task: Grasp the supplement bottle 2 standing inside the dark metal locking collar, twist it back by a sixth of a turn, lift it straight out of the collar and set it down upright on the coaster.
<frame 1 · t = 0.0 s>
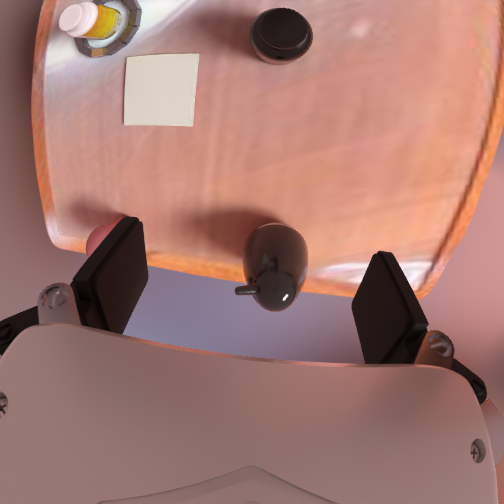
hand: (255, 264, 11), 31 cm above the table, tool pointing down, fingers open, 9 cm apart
collar: (108, 24, 26), on the table
supplement bottle 2: (109, 24, 27), resting in collar
coaster: (159, 89, 33), on the table
light bulb: (128, 221, 46), on the table
pump dispenser: (274, 239, 47), on the table
supplement bottle: (278, 44, 29), on the table
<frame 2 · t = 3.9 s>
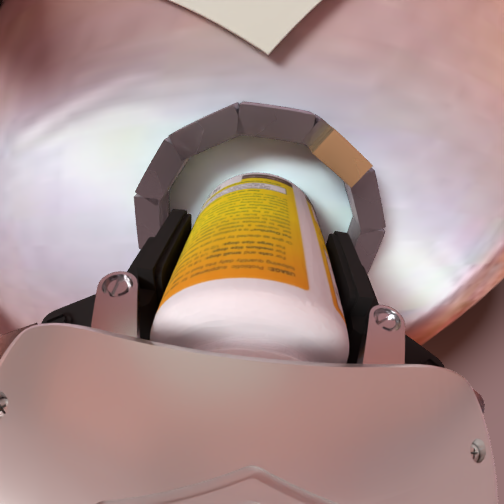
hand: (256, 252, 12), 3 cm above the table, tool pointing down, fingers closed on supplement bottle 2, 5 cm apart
collar: (258, 223, 14), on the table
supplement bottle 2: (258, 221, 14), resting in collar, touching gripper
when the fingers open (4 cm above the table, at t = 9.9 s): supplement bottle 2 drops 1 cm, resting on coaster.
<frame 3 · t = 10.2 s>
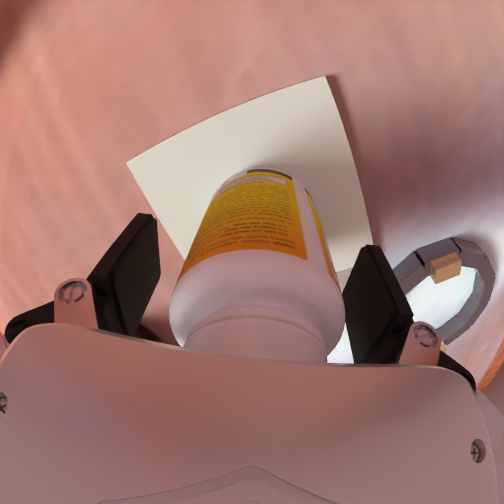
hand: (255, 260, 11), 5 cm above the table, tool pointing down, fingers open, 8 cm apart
collar: (431, 300, 19), on the table
supplement bottle 2: (262, 212, 15), resting on coaster
coaster: (260, 206, 15), on the table
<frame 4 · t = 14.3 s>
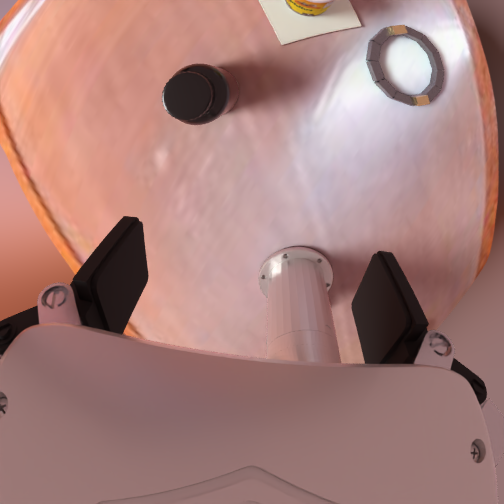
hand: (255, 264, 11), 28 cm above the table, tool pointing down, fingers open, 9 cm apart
collar: (405, 64, 26), on the table
supplement bottle 2: (306, 0, 23), resting on coaster
coaster: (304, 0, 23), on the table
supplement bottle: (213, 91, 31), on the table
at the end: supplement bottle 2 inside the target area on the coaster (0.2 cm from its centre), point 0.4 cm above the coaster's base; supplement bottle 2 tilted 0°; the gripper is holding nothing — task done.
